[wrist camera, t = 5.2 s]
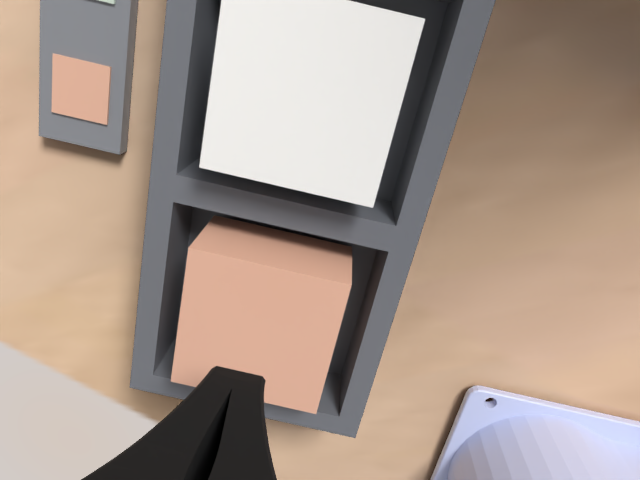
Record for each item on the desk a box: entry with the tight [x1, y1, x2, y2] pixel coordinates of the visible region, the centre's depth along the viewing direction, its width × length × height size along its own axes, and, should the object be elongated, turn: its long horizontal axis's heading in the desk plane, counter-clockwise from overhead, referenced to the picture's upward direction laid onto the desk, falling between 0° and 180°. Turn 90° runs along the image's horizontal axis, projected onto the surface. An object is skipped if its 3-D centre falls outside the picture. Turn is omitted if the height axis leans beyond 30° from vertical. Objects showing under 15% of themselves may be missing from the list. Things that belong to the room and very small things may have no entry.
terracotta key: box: [171, 215, 352, 414], centre depth 17 cm, size 5×5×3 cm
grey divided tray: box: [130, 0, 495, 438], centre depth 16 cm, size 9×24×4 cm, turn 167°
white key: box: [199, 0, 425, 208], centre depth 15 cm, size 5×5×3 cm
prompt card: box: [39, 0, 138, 155], centre depth 17 cm, size 3×8×1 cm, turn 167°
